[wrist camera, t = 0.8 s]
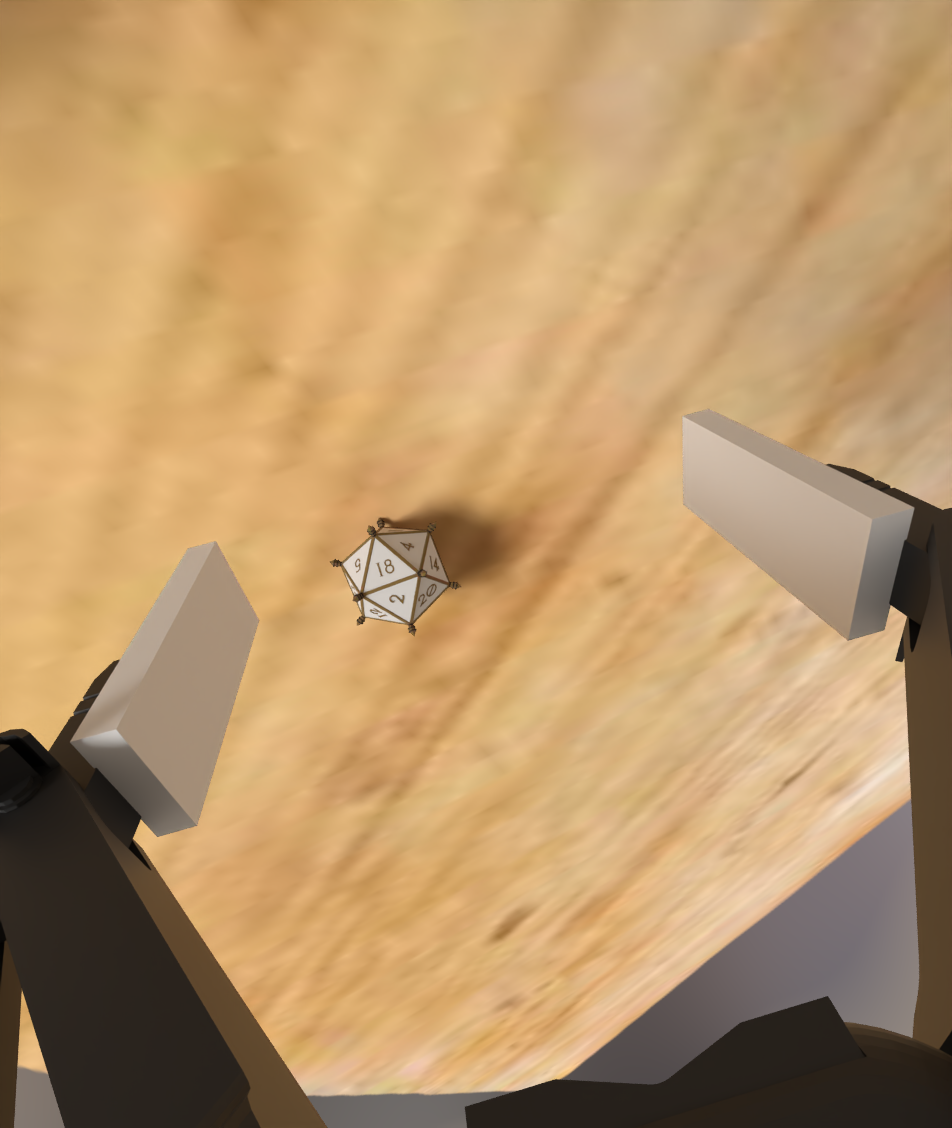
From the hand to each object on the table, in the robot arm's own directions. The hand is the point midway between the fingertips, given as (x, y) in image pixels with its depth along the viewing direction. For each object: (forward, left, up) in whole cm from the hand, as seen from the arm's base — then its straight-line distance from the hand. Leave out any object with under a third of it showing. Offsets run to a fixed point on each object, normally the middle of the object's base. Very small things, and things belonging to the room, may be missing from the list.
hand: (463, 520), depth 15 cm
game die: (+11, -10, -26) cm, 30 cm away
